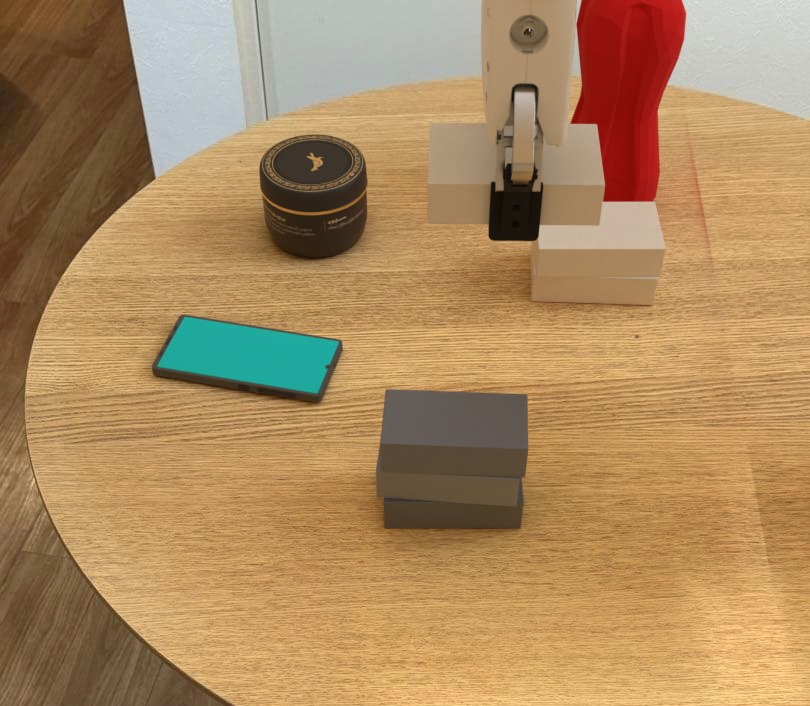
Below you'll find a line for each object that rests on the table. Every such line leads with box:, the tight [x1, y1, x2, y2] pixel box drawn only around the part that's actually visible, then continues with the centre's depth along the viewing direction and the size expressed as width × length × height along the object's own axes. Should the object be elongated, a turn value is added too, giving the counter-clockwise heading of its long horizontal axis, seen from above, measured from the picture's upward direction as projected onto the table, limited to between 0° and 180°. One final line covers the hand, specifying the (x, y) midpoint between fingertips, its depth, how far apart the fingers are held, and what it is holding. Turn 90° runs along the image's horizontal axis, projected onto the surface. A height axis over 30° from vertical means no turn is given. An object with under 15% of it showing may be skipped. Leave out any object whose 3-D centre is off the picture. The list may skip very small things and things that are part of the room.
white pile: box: [529, 201, 667, 306], centre depth 105 cm, size 11×8×6 cm
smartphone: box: [151, 314, 344, 403], centre depth 99 cm, size 7×1×15 cm
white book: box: [426, 122, 605, 226], centre depth 75 cm, size 11×7×3 cm, turn 88°
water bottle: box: [569, 0, 687, 202], centre depth 106 cm, size 9×11×25 cm
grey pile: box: [375, 388, 529, 529], centre depth 86 cm, size 11×6×9 cm, turn 87°
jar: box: [258, 133, 369, 259], centre depth 109 cm, size 10×10×8 cm
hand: (511, 200), depth 77 cm, fingers closed on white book, 7 cm apart
